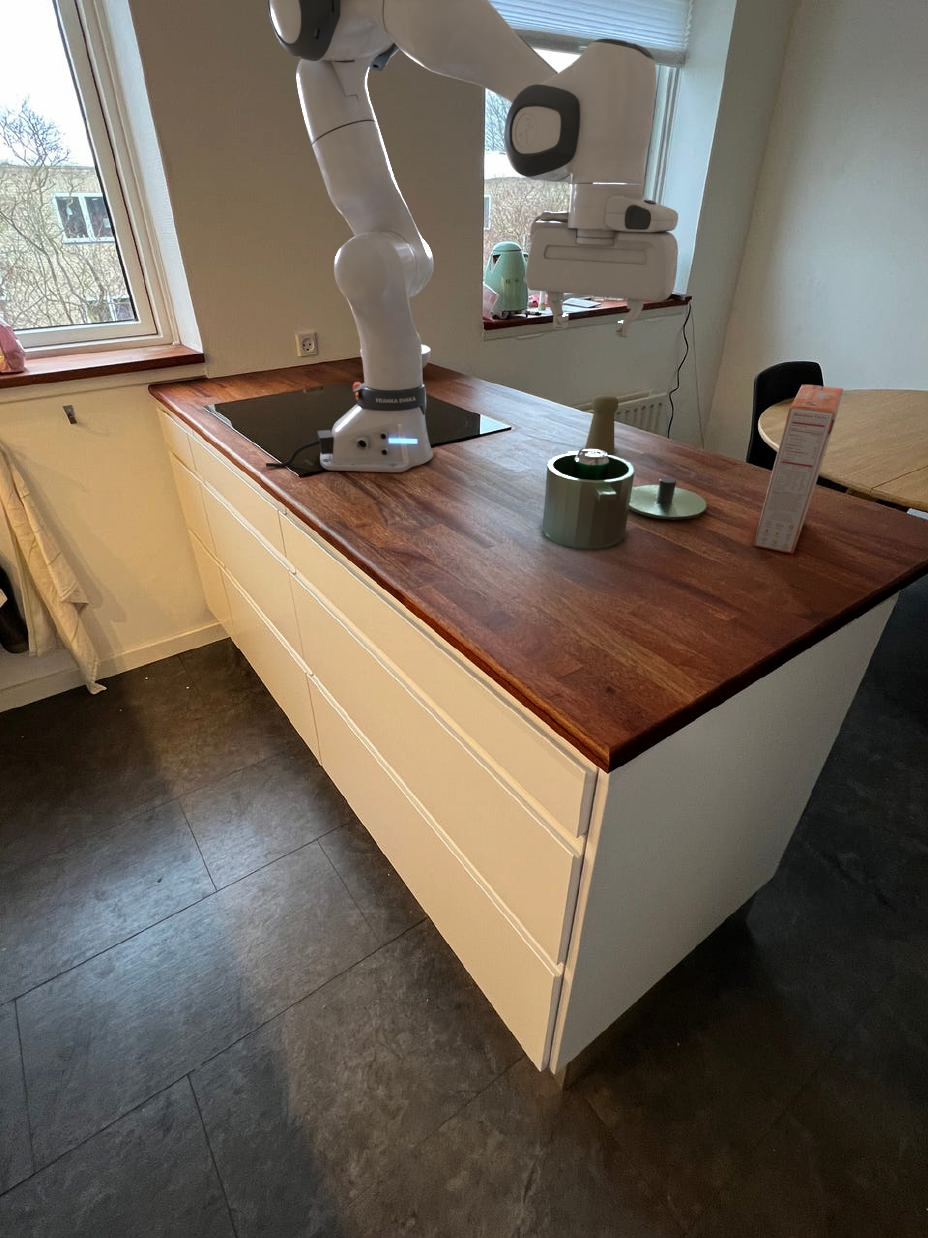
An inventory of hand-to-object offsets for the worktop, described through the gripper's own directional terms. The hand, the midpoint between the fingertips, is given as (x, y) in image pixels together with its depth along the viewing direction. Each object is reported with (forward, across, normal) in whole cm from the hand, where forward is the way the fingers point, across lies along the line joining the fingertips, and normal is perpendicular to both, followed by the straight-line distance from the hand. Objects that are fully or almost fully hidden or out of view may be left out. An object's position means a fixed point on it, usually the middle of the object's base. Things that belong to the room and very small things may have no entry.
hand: (590, 332), depth 87 cm
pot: (+28, +4, -2) cm, 28 cm away
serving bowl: (+29, -92, +65) cm, 117 cm away
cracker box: (+28, +29, +15) cm, 43 cm away
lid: (+27, +10, +15) cm, 33 cm away
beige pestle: (+28, -11, +35) cm, 47 cm away
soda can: (+28, +4, -2) cm, 28 cm away
